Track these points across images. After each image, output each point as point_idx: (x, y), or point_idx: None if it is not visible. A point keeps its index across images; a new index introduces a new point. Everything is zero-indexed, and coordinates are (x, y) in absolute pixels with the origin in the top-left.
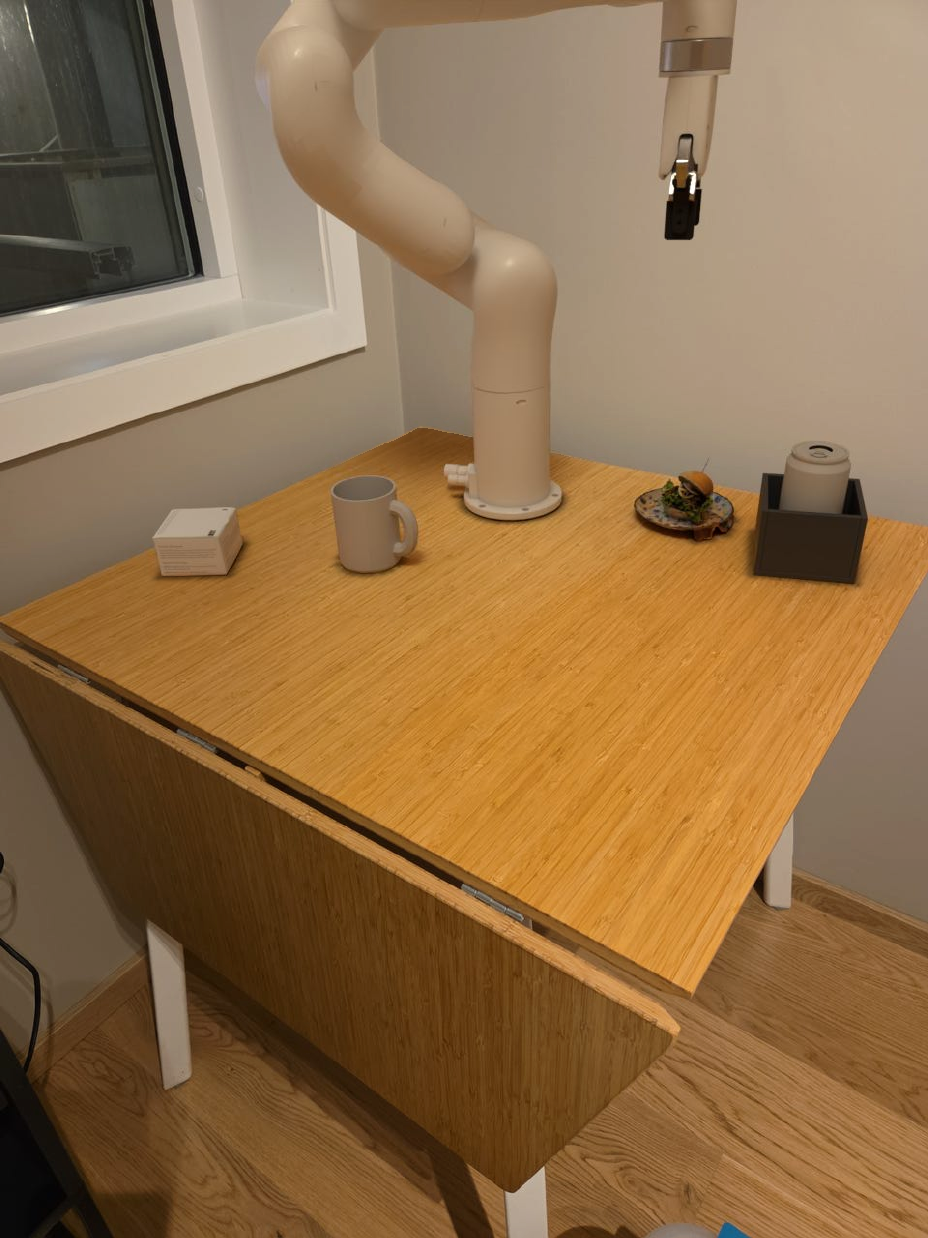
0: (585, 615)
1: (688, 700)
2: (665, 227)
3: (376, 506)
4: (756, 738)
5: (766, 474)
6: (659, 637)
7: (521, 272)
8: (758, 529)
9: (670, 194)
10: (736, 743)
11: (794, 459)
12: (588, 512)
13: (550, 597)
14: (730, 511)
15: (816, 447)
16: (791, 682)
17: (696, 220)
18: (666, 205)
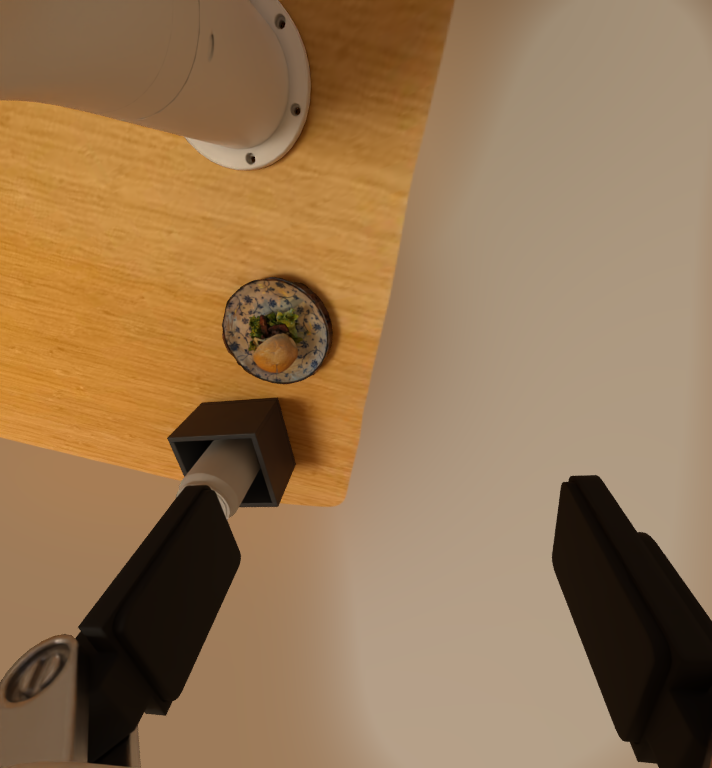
0: (59, 284)
1: (23, 380)
2: (165, 516)
3: None
4: (21, 418)
5: (252, 436)
6: (72, 349)
7: None
8: (199, 420)
9: (10, 685)
10: (9, 409)
11: (186, 483)
12: (251, 217)
13: (62, 241)
14: (285, 380)
15: (232, 499)
16: (84, 433)
17: (557, 574)
18: (96, 603)
